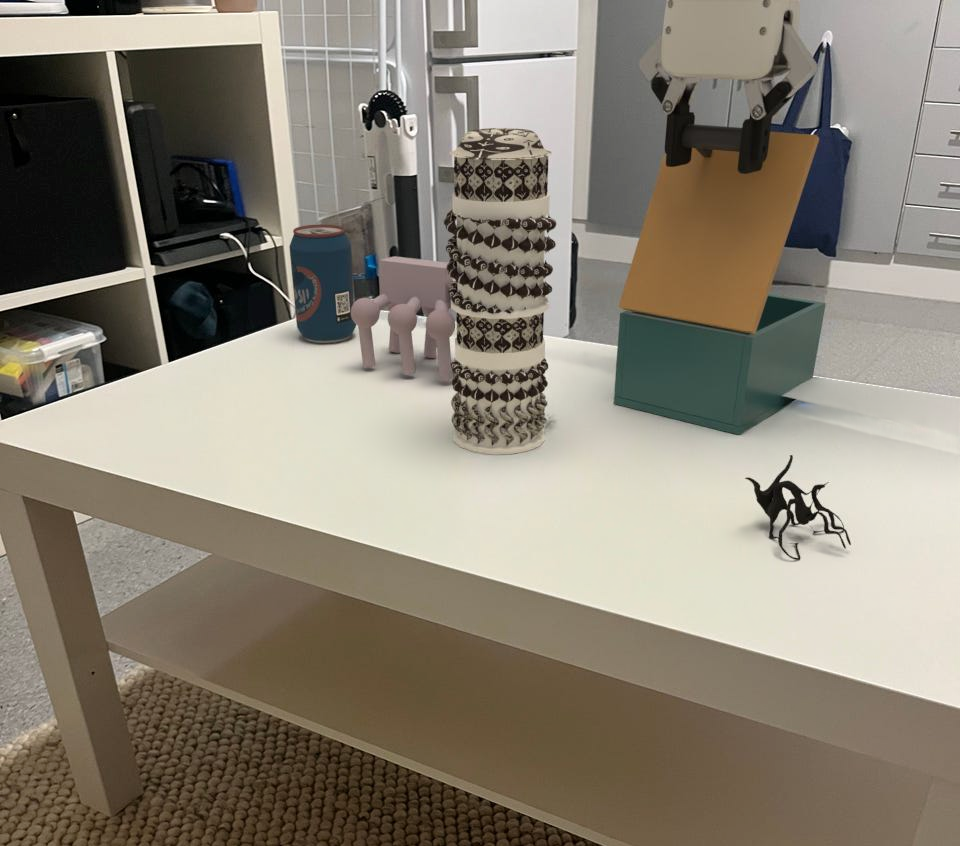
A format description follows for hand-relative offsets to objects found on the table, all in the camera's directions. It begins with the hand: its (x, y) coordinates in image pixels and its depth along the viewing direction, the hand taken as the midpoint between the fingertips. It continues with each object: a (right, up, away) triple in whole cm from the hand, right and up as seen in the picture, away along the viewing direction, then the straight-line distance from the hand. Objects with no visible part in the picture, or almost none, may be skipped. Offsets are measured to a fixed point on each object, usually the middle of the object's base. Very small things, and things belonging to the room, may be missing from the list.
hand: (713, 166), depth 86 cm
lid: (+1, -4, +4) cm, 6 cm away
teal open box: (+3, -16, +15) cm, 22 cm away
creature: (+4, -33, -11) cm, 35 cm away
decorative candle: (-18, -22, +6) cm, 29 cm away
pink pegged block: (-23, -12, +23) cm, 34 cm away
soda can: (-38, -5, +34) cm, 51 cm away
